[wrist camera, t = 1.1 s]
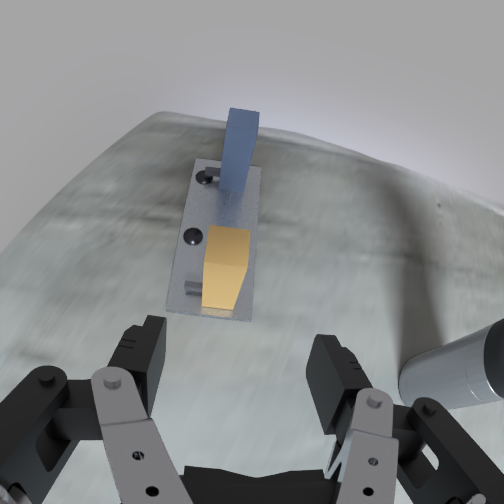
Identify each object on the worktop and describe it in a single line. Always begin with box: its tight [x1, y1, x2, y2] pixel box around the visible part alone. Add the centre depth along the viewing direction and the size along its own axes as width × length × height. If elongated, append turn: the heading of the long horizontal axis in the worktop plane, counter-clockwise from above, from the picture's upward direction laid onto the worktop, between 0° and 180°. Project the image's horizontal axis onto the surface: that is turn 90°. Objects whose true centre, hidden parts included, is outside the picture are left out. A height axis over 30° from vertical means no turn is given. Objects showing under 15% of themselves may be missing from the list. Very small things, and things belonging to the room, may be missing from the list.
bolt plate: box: [166, 158, 261, 322], centre depth 47 cm, size 26×11×1 cm, turn 176°
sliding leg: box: [184, 225, 250, 310], centre depth 36 cm, size 4×6×13 cm, turn 86°
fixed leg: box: [205, 108, 259, 193], centre depth 45 cm, size 4×6×13 cm, turn 86°
